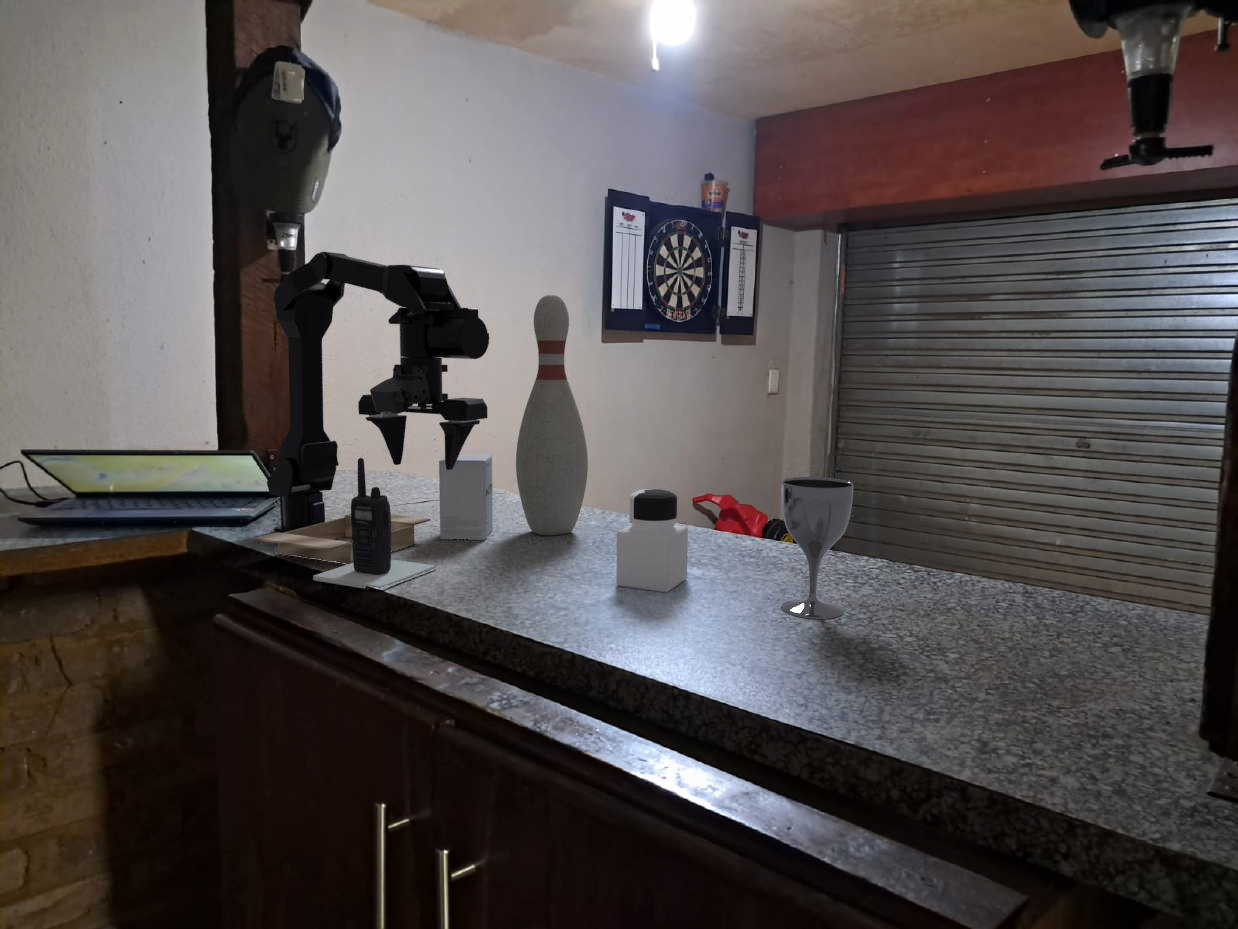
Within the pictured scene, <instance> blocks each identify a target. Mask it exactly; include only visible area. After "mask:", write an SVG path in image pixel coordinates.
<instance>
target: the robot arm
mask: <svg viewBox="0 0 1238 929" xmlns="http://www.w3.org/2000/svg"><path fill="white" fill-rule="evenodd" d="M323 280H328V281H327V282H326V283H324V282H322V281H323ZM346 284H348V285H351V286H354V287H355V286H356V287H358V288H364V289H367V290H371V291H374V292H377V293H380V294H382V295H383V297H384V298H385V299H386V300H387V301H390V302H391V303H393V304H395V305H397V306H398V308H397V310H396V312H395V313H394V314H392V315H390V317H389V319H388V320H387V321H388V324H389V325H399V356H400V357H399V358H400V359H399V360H400V363H398V364H393V366H394V367H393V370H392V377H390V378H388V379H385V380H383V381H382V382H380V383H378V384H376V385H375V386H373V387H372V388H370V390H369V392H370V394H362V395H361V397H360V399H359V400H358V402H357V404H358V406H357V407H358V408H357V409H358V415H364V416H367V417H365V420H366V421H368V422H371V423H372V424H373V425H375V426H376V427H377V428H378V429H379V431H380V433H381V435H382V437H383V439H384V442H385V445H386V447H387V450H388V452H389V455H390V458H391V460H392V463H393V465H394V466H399V465H401V464H402V460H403V454H404V446H405V438H406V437H405V436H406V428H407V427H406V426H407V418H408V416H407V414H406V415H404V414H402V413H412V414H413V413H415V414H428V415H429V414H430V415H431V414H432V415H441V418H443V420H444V421H442V422H441V421H439V422H438V423H439V424H438V425H439V426H440V427H441V430H442V431H443V434H444V458H445V464H446V469H447V470H452V469H453V467H454V465H455V463H456V460H457V458H458V456H459V455H461V454H460V453H461V451H462V449H463V447H464V445H465V442H466V440H467V439H468V437H469V436H470V433H471V431H472V430H473V428H474V427H475V425H480V422H481V421H480V420H484V419H488V406H487V403H486V402H485V400H484V399H483V398H478V397H477V398H476V397H475V398H474V397H457V398H456V397H455V398H449V394H448V393H443V373H448V370H449V368H448V367H449V366H448V364H443V359H460V360H461V359H463V360H477V359H481V358H482V357H483V356H484V355H485V354H486V352H487V350H488V348H489V344H490V333H489V332H488V329H487V326H486V324H485V322H484V321H483V320H482V318H480V317H479V308H477V307H474V308H473V307H462V306H461V304H460V303H459V301H458V299H457V298H456V295H455V294H454V291H452V288H451V287H450V285H449V283H448V280H447V277H446V273H445V272H444V271H443V269H441V268H438V267H430V266H429V267H428V266H420V265H410V264H389V265H386V264H382V263H377V262H373V261H369V260H363V259H359V258H356V257H351V256H348V255H347V254H345V253H340V252H330V251H320V252H317V253H316V254H314V256H313V257H312V258H311V259H310V260H309V262H307V263H305V264H303V265H302V266H300V267H298V268H296V269H295V270H292V271H290V272H289V273H288V274H287V275H286V276H285V278H284V279H283V280H282V281H281V282H280V284H278V286H277V287H275V290H274V294H273V301H274V306H275V314H276V320H277V323H278V324H279V325H280V327H281V329H282V330H283V332H284V334H285V335H286V337H287V342H288V343H287V344H288V345H287V346H288V347H287V348H288V351H287V352H288V378H289V379H288V383H289V384H288V388H289V390H288V392H289V426H290V427H289V431H288V432H287V434H286V436H285V438H284V439H283V441H282V443H281V445H280V448H279V456H278V457H279V460H278V464H277V465H276V467H275V469H274V470H273V471H272V473H271V474H270V477H268V479H267V481H266V485H267V489H268V493H269V494H270V495H272V496H277V497H279V509H280V525H279V526H276V527H275V526H274V527H273V531H274V532H279V533H284V532H288V531H292V530H296V529H300V528H304V527H308V526H312V525H316V524H320V523H324V522H326V512H325V511H326V510H325V506H326V505H325V501H324V498H323V497H324V495H323V492H325V491H332V489H333V484H334V479H335V476H336V473H337V467H338V466H339V465H340V464H339V460H338V448H339V447H338V442H337V441H336V440H331V439H330V438H329V436H328V434H327V432H326V431H325V428H324V388H323V387H324V384H323V383H324V381H323V379H324V378H323V339H324V338H325V337H324V336H325V335H326V333H327V331H329V330H328V329H329V328H330V326H331V324H332V322H333V314H334V307H335V306H336V305H337V304H338V303H339V302H340V301H341V299H343V297H344V295H345V285H346Z"/></svg>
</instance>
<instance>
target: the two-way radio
mask: <svg viewBox="0 0 1238 929" xmlns="http://www.w3.org/2000/svg"><path fill="white" fill-rule="evenodd" d="M365 471H366V470H365V460H364V458H363V457H359V458H358V459H357V495H356V496H355V497H353V498H352V499H351V502H350V514H351V527H352V537H351V543H352V548H353V564H354V570H355V571H357V572H366V573H375V574H377V575H379V574H382V573H385V572H388V571H389V570H390V568H391V559H392V552H391V514H392V513H391V506H390V505H391V504H390V501H389V499H388V496H387V495H383V494H382V493H381V489H380V487H378V486H373V487H371V490H370V491H371V492H370V495H367V488H366V487H367V486H366V472H365ZM381 494H382V495H381Z"/></svg>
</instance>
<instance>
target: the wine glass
mask: <svg viewBox="0 0 1238 929" xmlns="http://www.w3.org/2000/svg"><path fill="white" fill-rule="evenodd" d="M853 498H854V482H852V481H849V480H846V479H841V478H840V479H839V478H832V477H820V476H798V477H797V476H796V477H795V476H794V477H788V478H784V479H782V481H781V508H782V509H781V510H782V516H783V519H784V520H783V521H784V524H785V527H786V531H787V532H788V534H789V535H790V537H792V539H793V540H794V542H796V544H797V545H798V546H799V548H800V549H801V550H802V552H803V553H804V556H805V558H806V561H807V564H808V573H809V574H808V575H809V592H808V593H809V594H808V597H807V598H806V599H794V600H789V601H786V602H784V603H782V605H781V606H780V608H781V610H782V611H783V612H784V613H786V614H788V615H791V616H794V617H797V618H798V617H799V618H802V619H810V620H811V619H812V620H829V619H835V618H838V617H841V616H843V615H844V614H845V613H844V609H843V607H841V606H839V605H837V604H834V603H831V602H828V601H823V600H819V599H818V597H817V584H818V575H819V570H820V564H821V562H822V560H823V558H824V557H825V555H826V554H827V552H828V551H829V550H830V549H831V548H832V547H833V546H834V545H835V544H836V543H837V542H838V541H839V540H840V539H841V538H842V536H843V535H844V534H845V532H846V530H847V528H848V525H849V522H850V518H851V512H852V508H853Z"/></svg>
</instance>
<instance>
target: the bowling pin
mask: <svg viewBox="0 0 1238 929" xmlns="http://www.w3.org/2000/svg"><path fill="white" fill-rule="evenodd" d="M569 326H570V315H569V312H568V308H567V305H566V303H565V302H564V300H563V299H562V297H560V296H558V295H556V294H555V295H554V294H547V295H543V296H542V297H541V298H540V299H539V300H538V302H537V304H536V306H535V309H534V313H533V328H534V335H535V339H536V344H537V350H538V352H537V354H538V368H537V374H536V377H535V380H534V382H533V386H532V389H531V391H530V395H529V397H528V400H527V403H526V406H525V409H524V412H523V415H522V420H521V422H520V428H519V432H518V437H517V443H516V454H515V470H516V472H515V473H516V482H517V487H518V492H519V497H520V502H521V506H522V510H523V514H524V517H525V519H526V523H527V524H528V527H529V529H530V530H531V531H532V532H533V533H534V534H537V535H540V536H557V535H558V536H560V535H565V534H569V533H571V532H572V531H573V530H574V529H575V527H576V524H577V522H578V519H579V517H580V513H581V510H582V505H583V502H584V497H585V494H586V487H587V481H588V472H589V471H588V468H589V460H588V457H589V456H588V448H587V447H588V446H587V441H586V436H585V431H584V427H583V426H584V425H583V421H582V419H581V415H580V411H579V409H578V405H577V402H576V400H575V397H574V394H573V391H572V388H571V385H570V383H569V381H568V378H567V375H566V374H567V373H566V368H565V349H566V344H567V338H568V334H569V328H570V327H569Z"/></svg>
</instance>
